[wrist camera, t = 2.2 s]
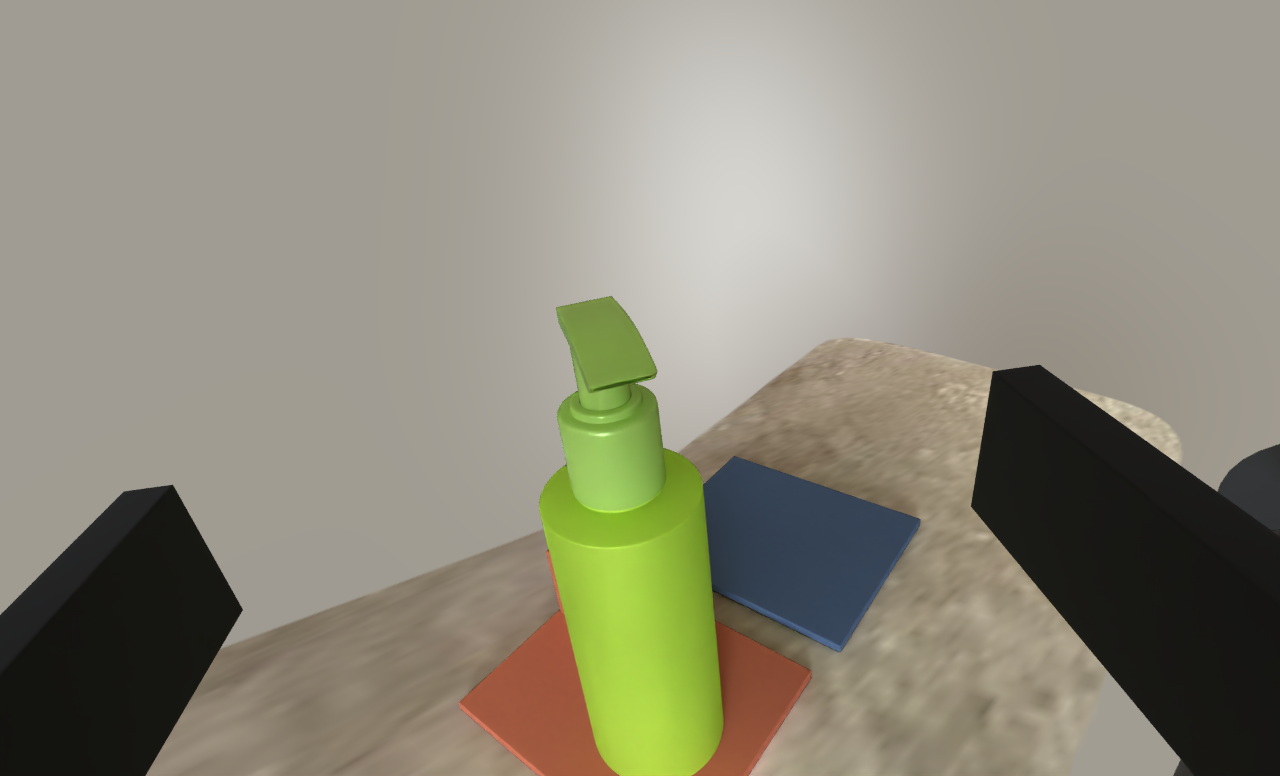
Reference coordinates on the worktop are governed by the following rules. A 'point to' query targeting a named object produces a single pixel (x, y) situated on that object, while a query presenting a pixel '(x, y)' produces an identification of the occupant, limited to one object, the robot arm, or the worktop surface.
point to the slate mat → (799, 548)
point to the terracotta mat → (559, 721)
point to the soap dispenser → (632, 558)
